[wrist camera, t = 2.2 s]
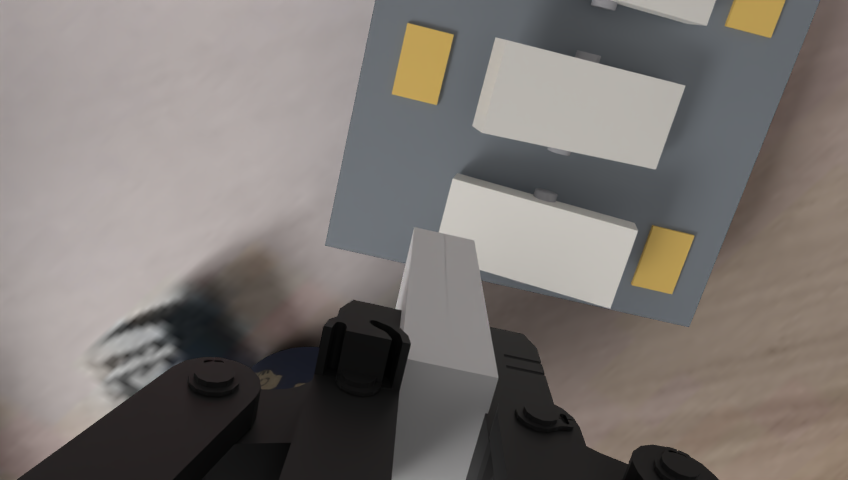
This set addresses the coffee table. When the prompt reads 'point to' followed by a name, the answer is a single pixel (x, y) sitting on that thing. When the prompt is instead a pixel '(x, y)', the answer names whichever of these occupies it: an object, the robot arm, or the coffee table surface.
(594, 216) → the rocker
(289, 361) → the canister
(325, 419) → the robot arm
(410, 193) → the switch unit
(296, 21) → the coffee table surface
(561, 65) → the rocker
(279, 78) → the coffee table surface
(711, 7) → the block
